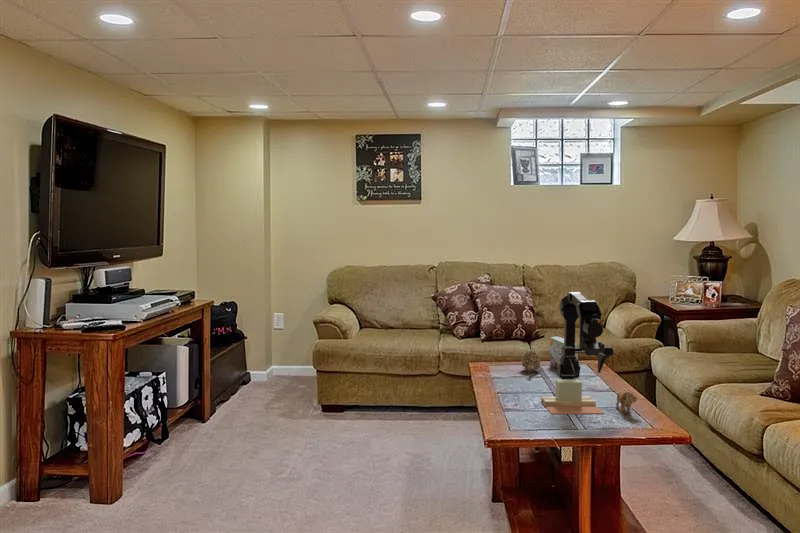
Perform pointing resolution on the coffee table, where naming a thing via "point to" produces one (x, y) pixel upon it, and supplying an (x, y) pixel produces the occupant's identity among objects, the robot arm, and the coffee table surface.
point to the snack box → (557, 350)
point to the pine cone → (530, 361)
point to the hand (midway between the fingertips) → (587, 372)
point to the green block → (568, 390)
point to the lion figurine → (625, 401)
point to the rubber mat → (574, 410)
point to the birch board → (568, 402)
